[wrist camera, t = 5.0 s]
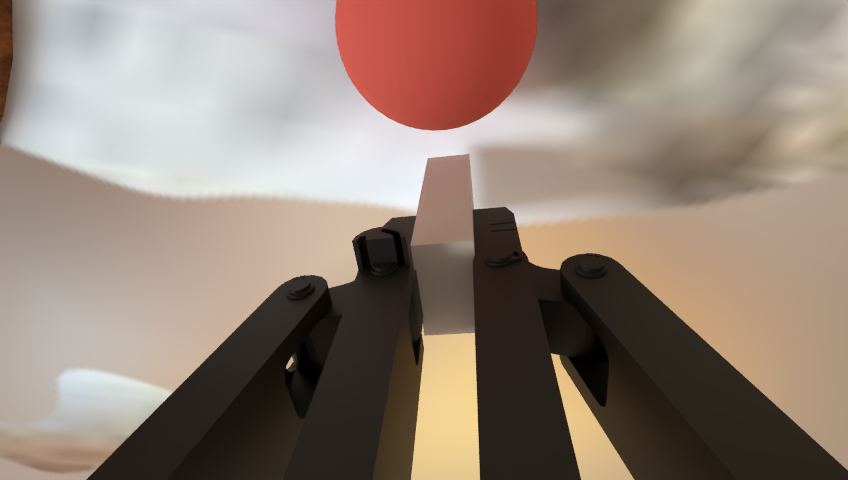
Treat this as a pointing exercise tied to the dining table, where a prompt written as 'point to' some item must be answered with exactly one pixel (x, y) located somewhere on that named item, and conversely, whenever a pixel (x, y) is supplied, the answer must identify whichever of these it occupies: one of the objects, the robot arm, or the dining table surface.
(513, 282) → the robot arm
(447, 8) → the ball
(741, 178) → the dining table surface
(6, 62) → the cutting board
